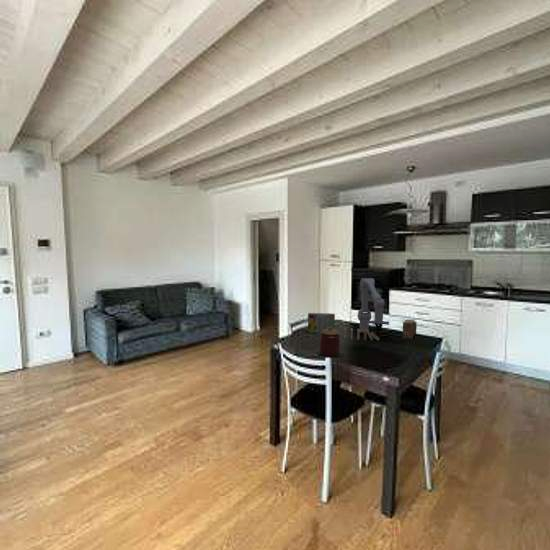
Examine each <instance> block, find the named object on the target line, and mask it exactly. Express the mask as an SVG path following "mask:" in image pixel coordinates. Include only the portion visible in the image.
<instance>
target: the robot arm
mask: <svg viewBox="0 0 550 550" xmlns="http://www.w3.org/2000/svg"><path fill="white" fill-rule="evenodd" d="M375 282H376V281H375V279H374V278H373V277H372V278H371V277H369V278H365V277H364V278H361V279H360V281H359V287H360V289H361V308H360V309H359V310H358V311H357V319H358V321H359V329H360V333H364V329H366V330H369V329H370V328H369V327H370V324H373V325H374V326H375V329H376V335H380V331H381V330H382V328H383V325H387V326H389V325H390V321H385V320H384V307H385V305H386V301H385V299H384V298H382V297H381V295H380V293H379V291H377V290H376V287H375V284H376V283H375ZM369 291H370V293H371V298H372V301H373V307H374V320H371V319H372V312H371V310H370V309H369ZM369 331H370V330H369Z"/></svg>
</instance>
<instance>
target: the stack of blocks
mask: <svg viewBox="0 0 550 550" xmlns="http://www.w3.org/2000/svg"><path fill="white" fill-rule="evenodd" d="M416 334H417V321H415V319H405V320H404V321H403V322H402V339H407V338H409V339H408V340H412V339H413V337H414V336H415V335H416Z"/></svg>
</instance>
